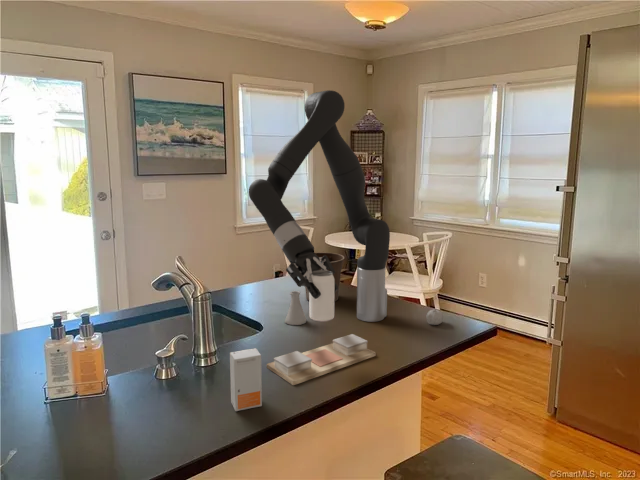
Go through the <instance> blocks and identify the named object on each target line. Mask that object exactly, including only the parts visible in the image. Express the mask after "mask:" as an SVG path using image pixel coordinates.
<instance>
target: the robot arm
mask: <svg viewBox="0 0 640 480" xmlns="http://www.w3.org/2000/svg"><path fill="white" fill-rule="evenodd" d="M344 111H345V100H344V98H343V96H342V95H341V94H340V93H339V92H337V91H336V90H330V89H329V90H322V91H317V92H314V93H310V94H309V95H308V96H307V98H306V99H305V102H304V112H305V116H306V118H307V121H306V123H305V124H304V125H303V126H302V128H300V130H298V132H297V133H296V134H295V135H293V136H292V137H291V139H289V140H288V141H287V142H286V143H285V144H284V145H283V147H282V148H281V149H280V150H279V151H278V153H277V155H275V156H274V159H273V160H272V162H271V163H270V164H269V167H268V169H267V172H268V173H267V174H268V176H267V179H263V178H262V179H261V178H259V179H256V180H254V181H253V182H252V183H251V184H250V185H249V188H248V196H249V199H250V201H251V202H252V204H253V205H254V206H255V208H256V209H257V211H258V212H259V213H260V214H261V215H262V216H261V217H263V219H264V220H265V222H266V225H267V226H268V228H269V230H270V232H271V233H272V235H273V237H274V238H275V240H276V243H277V244H278V246H279V248H280V249H281V251H282V252H283V254H284V256H285V257H286V259H287V260H288V262H289V265H288V266H287V267H286V268H285V271H286V272H287V274H288V275H289V276H290V278H291V279H292V280H293V282H294V283H295V285H297V287H298V288H301V287H304V288H305V287H306V288H307V289H308V291H309V292H310V294H311V295H312V296H313V297H314V298H315V299H317V298H318V297H319V296H320V295H321V293H320V291H319V289H318V288H317V287H316V286H315V285H314V283H312V276H311V275H312V272H313V271H317V270H320V268H321V270H327V271H329V270H330V271H331V272H333V274H335V270H334V268H333V266H332V264H331V263H330V261H329V259H328V257H327V256H326V255H324V256H323V257H318V256H317V255H316V254H315V253H316V252H315V247H314V245H313V243H312V242H311V241H310V239H309V238H308V236H307V234H306V233H305V231H304V229H303V228H302V227H301V226H300V224H298V222H297V221H296V219H295V217H294V216H293V215H292V213H291V211H290V210H289V209H288V208H287V207H286V206H285V204H284V203H283V201H282V199H283V197H284V194H285V193H286V189H287V187H288V185H289V182H290V181H291V179H292V178H293V177H294V175H295V174H296V172H297V171H298V169H299V168H300V166H301V165H302V163H303V162H304V161H305V159H306V158H307V157H308V155H309V154H310V153H311V151H312V150H313V149H314V148H315V146H316V145H317V144H318V143H319V144H320V147H321V150H322V152H323V155H324V157H325V160H326V162H327V164H328V167H329V170H330V173H331V176H332V178H333V179H332V180H334V183H335V186H336V188H337V190H338V193H339V195H340V197H341V201H342V203H343V206H344V208H345V211H346V214H347V218H348V221H349V225H350V230H351V233H352V235H353V238H354V240H355V241H356V242H358V244H360V245H362V246H365V250H364V255H362V256H359V257H358V258H357V260H356V262H357V267H356V277H357V278H356V318H357V319H358V320H360V321H362V322H369V323H370V322H372V323H375V322H380V321H382V320H384V319H385V318H386V317H388V316H387V313H388V312H387V310H388V288H386V267H387V266H386V264H387V261H388V259H389V255H390V254H389V252H390V237H391V233H390V227H389V224H388V223H387V222H386V221H385V220H383V219H380V218H379V219H378V218H375V217H372V216H371V214H370V212H369V210H368V207H367V204H366V201H365V191H366V176H365V173H364V171H363V167H362V165H361V163H360V160H359V157H358V156H357V155H356V153H355V152H354V150H353V149H352V148H351V147H350V145H349V144H348V143H347V142H346V141H345V139H344V138H343V137H342V135H341V134H340V132H339V129H338V127H337V124H336V123H338V122H339V120H340V119H341V118H342V116H343V115H344ZM328 269H329V270H328ZM337 290H338V286H337V284H336V283H335V281H334V293H335V292H336V291H337Z"/></svg>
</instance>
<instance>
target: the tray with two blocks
mask: <svg viewBox="0 0 640 480" xmlns="http://www.w3.org/2000/svg"><path fill="white" fill-rule="evenodd" d="M376 354H377V353H376V351H373V350H371V349H369V348H368V340H367V339H364V338H363V337H360V336H358V335H356V334H353V333H351V334H348V335H345V336H344V335H343V336H342V337H338V338H334V339H332V342H331V343H329V344H326V345H322V346H319V347H317V348H313V349H310V350H306V351H304V352H300V351H298V350H295V351H292V352H289V353H285V354H282V355H280V356H276V357H273V360H274V361H272V362H269V363H266V369H268V370H270V371H271V372H272V373H274V374H276V375H278V376H279V377H280V378H281V379H283V380H285V381H286V382H288V383H289V384H290V385H292V386H295V385H298V384H301V383H304V382H307V381H310V380H312V379H315V378H318V377H320V376H323V375H326V374H328V373H332V372H334V371H337V370H340V369H343V368H345V367H349V366H351V365H353V364H357V363H359V362H362V361H365V360H367V359H371V358H373V357H376V356H377V355H376Z"/></svg>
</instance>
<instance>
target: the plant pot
mask: <svg viewBox="0 0 640 480" xmlns="http://www.w3.org/2000/svg"><path fill="white" fill-rule="evenodd" d="M314 253H315V254H316V255H317V256H318V257H323V256H324V255H326V256H327V257H328V259H329V261H330V263H331V264H332V266H333V268H334V270H335V274H333V277H334V281H335V283H336V284H337V286H338V290H337V291H336V292H335V293H334V302H336V301H338V300H339V297H340V296H339V295H340V283H341V275H342V269H343V263H344V260H345V256H344V255H342V254H339V253H336V252H325V251H324V252H323V251H322V252H314ZM320 270H321V268H320ZM328 270H329V269H328ZM329 271H330V270H329ZM304 288H305V298H306V300H307V301H309V291H308V289H307V288H306V287H304Z"/></svg>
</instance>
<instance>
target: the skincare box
mask: <svg viewBox="0 0 640 480" xmlns="http://www.w3.org/2000/svg"><path fill="white" fill-rule="evenodd" d="M229 367H230V368H229V369H230V370H229V371H230V373H229V374H230V377H229V378H230V402H231V405H232V406H233V409H234V411H235V412H238V411H244V410H248V409H254V408H258V407H259V408H260V407H262V406H263V398H262V397H263V395H262V393H263V391H262V389H263V387H262V384H263V383H262V354H261V353H260V352H259V350H258V348H255V347H254V348H250V349H242V350H238V351H231V352H229Z"/></svg>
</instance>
